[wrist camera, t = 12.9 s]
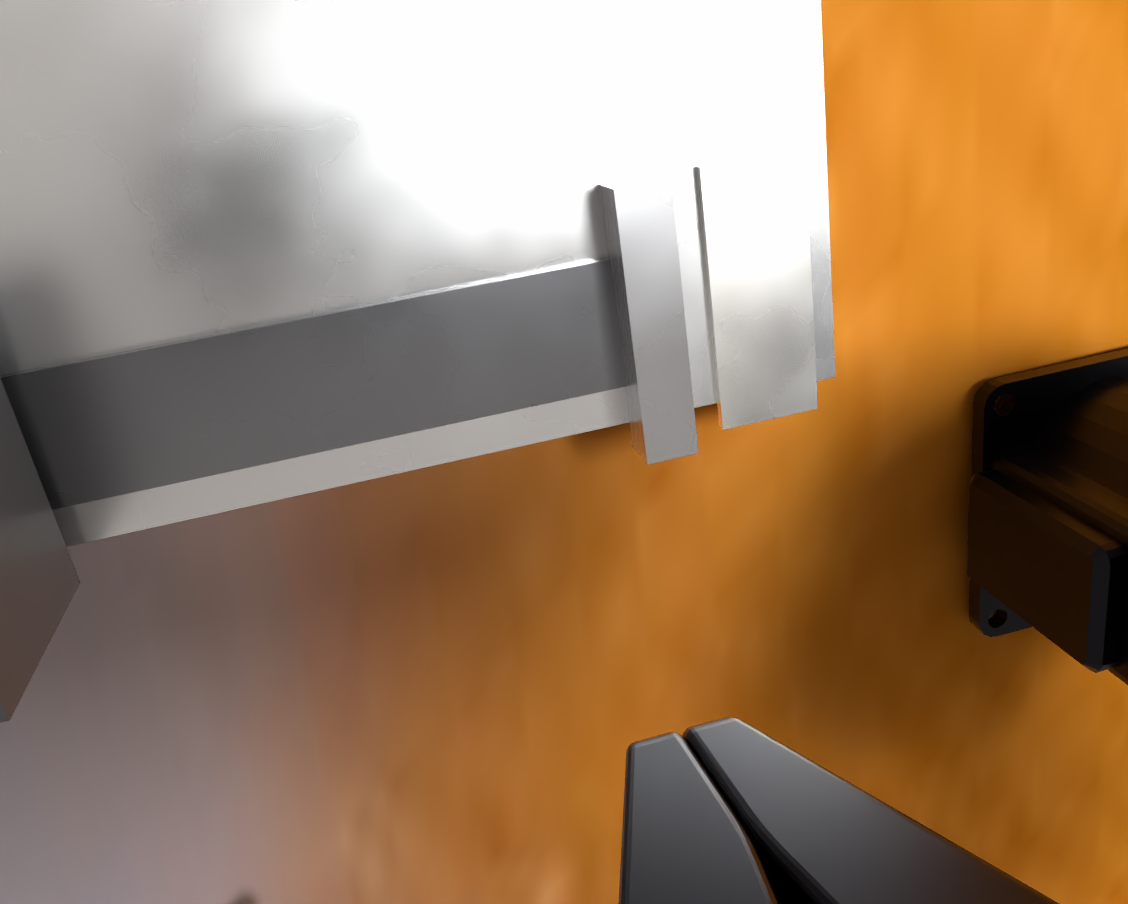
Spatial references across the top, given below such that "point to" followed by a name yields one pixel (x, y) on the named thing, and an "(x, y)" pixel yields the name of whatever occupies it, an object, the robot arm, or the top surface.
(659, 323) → the panel
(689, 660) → the top surface
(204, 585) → the top surface
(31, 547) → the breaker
